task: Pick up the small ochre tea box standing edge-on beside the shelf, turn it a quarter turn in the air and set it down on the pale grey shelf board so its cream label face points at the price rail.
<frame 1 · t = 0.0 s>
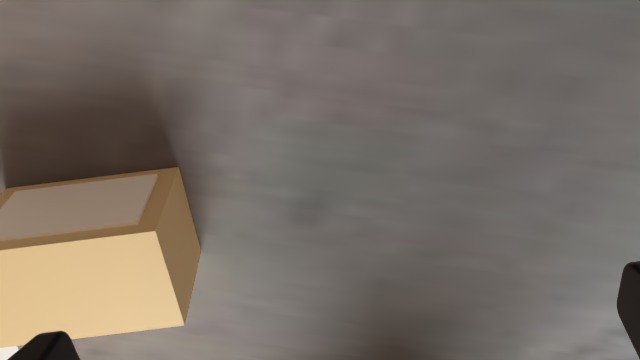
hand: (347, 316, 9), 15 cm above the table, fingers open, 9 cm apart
tea box: (108, 219, 25), on the table
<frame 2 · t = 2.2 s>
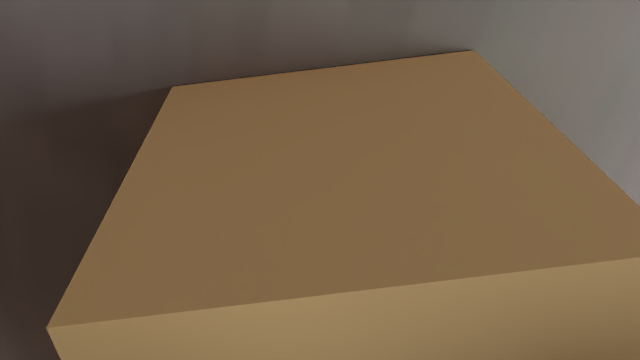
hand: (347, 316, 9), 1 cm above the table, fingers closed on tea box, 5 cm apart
tea box: (344, 268, 10), on the table, touching gripper
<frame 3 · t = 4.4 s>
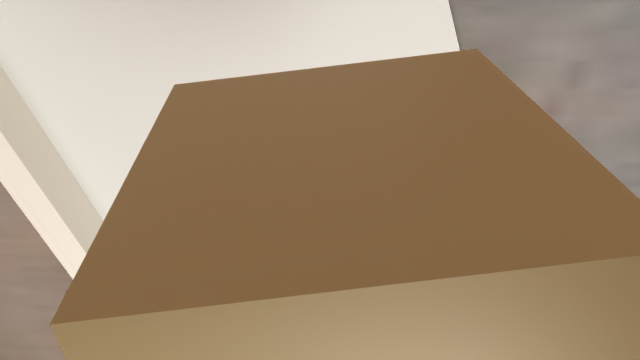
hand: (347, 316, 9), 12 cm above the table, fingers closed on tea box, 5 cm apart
tea box: (345, 267, 10), point 11 cm above the table, touching gripper
shelf: (271, 133, 20), on the table
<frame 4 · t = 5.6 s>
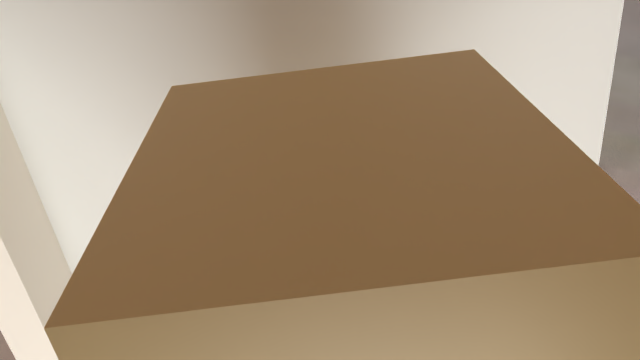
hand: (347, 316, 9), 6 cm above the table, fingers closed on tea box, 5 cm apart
tea box: (344, 268, 10), point 5 cm above the table, touching gripper
shelf: (321, 164, 15), on the table
when the fingers open (3 cm above the table, at t = 6.6 s): tea box stays where it is, resting on shelf.
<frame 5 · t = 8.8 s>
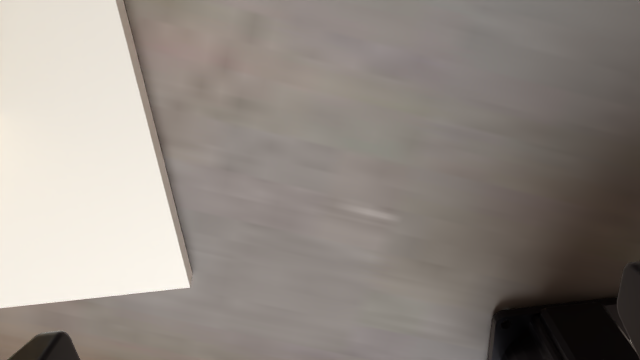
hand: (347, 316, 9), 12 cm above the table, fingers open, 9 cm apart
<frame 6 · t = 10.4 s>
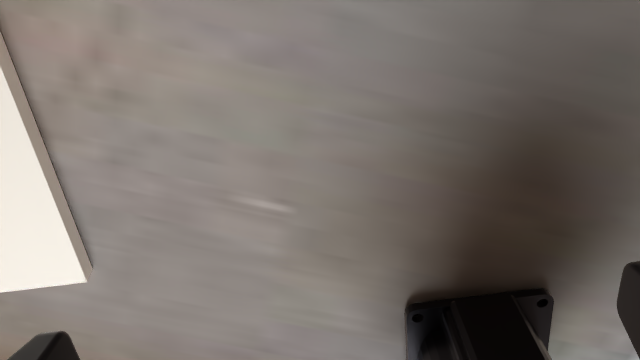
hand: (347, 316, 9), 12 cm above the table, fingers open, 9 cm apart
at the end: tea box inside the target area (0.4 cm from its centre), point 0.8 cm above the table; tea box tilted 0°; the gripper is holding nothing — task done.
